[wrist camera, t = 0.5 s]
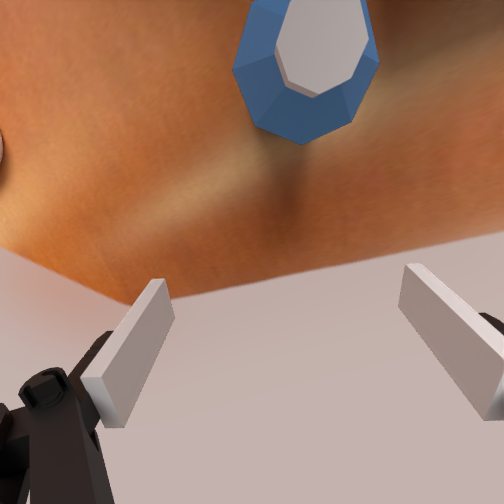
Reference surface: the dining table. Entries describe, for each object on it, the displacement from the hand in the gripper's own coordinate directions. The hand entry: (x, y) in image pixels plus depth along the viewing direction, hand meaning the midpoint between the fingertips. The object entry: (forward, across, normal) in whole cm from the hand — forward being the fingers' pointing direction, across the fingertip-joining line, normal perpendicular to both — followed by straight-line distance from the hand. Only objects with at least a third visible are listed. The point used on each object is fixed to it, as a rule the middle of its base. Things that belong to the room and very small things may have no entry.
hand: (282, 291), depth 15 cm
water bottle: (+28, +2, +12) cm, 30 cm away
